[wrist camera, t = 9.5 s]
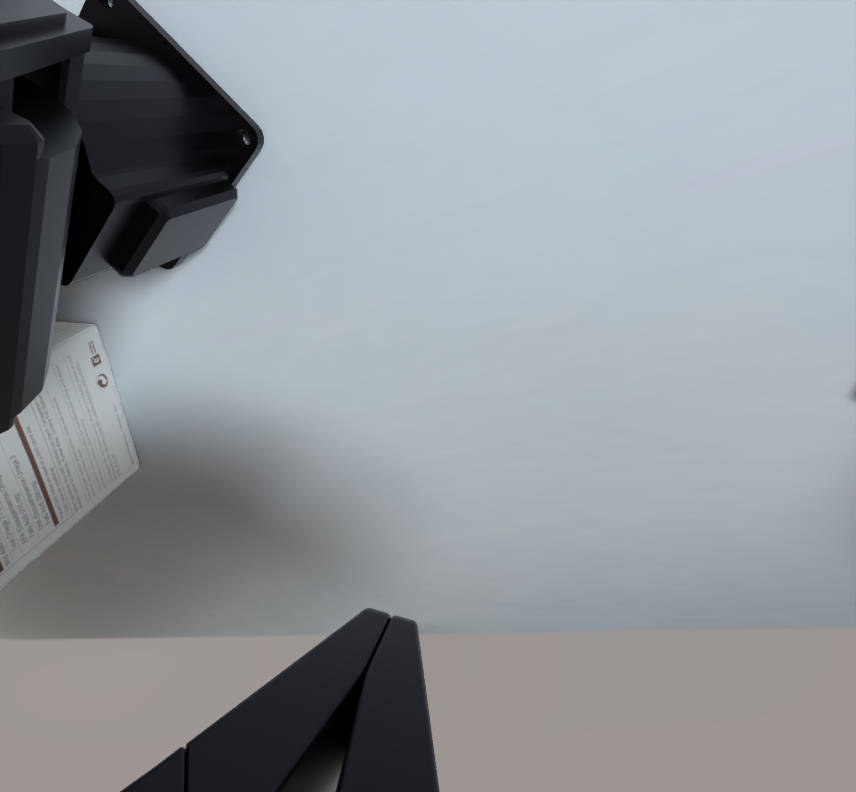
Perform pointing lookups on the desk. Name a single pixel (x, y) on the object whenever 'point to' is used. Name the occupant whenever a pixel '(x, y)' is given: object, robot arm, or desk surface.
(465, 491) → the desk surface
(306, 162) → the desk surface
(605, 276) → the desk surface
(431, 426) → the desk surface
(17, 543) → the supplement box
